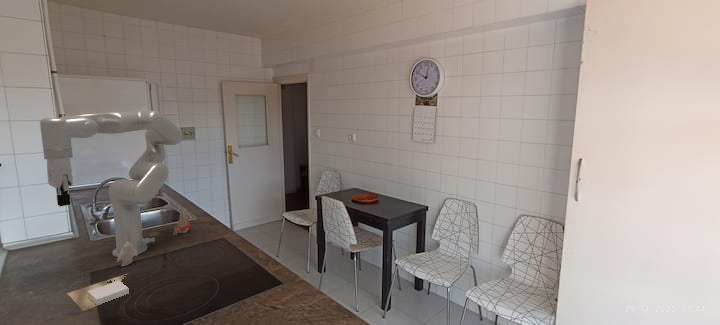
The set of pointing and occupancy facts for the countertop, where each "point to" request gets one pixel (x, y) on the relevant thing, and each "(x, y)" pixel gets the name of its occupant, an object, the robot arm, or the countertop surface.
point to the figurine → (182, 223)
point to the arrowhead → (127, 254)
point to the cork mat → (82, 294)
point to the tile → (108, 292)
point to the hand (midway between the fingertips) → (64, 205)
